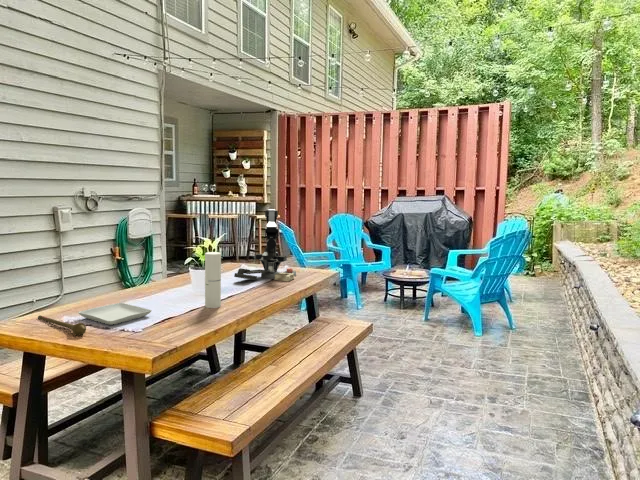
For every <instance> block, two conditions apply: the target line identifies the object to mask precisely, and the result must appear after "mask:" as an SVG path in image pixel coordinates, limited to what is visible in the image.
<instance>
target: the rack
mask: <svg viewBox="0 0 640 480" xmlns="http://www.w3.org/2000/svg"><path fill="white" fill-rule="evenodd" d="M294 278H295V276H294V274H291V273H283V272H280V273H278V274H276V275H275V279H274V281H281V282H291V281H292V280H294Z"/></svg>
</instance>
